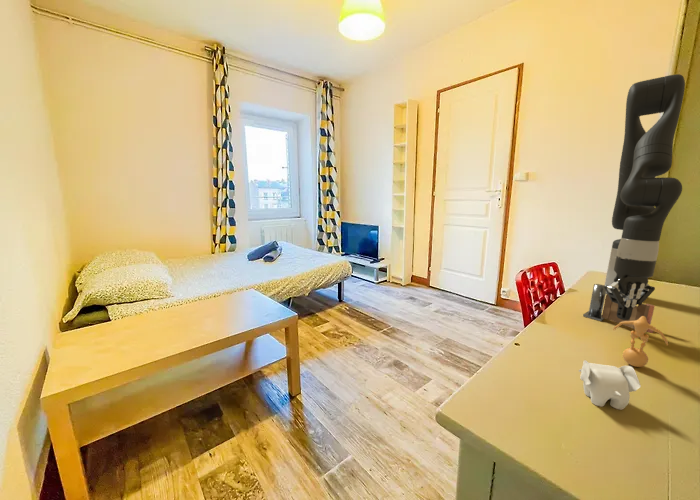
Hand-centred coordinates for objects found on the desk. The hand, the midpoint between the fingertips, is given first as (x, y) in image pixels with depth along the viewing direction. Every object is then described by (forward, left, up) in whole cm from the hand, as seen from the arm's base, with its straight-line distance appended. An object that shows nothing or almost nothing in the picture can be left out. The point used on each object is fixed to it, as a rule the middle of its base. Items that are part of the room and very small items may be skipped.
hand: (622, 318), depth 79 cm
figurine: (+20, +6, -4) cm, 22 cm away
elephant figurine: (+38, +5, -4) cm, 39 cm away
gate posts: (-6, -2, -4) cm, 8 cm away
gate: (-4, -1, -3) cm, 4 cm away
